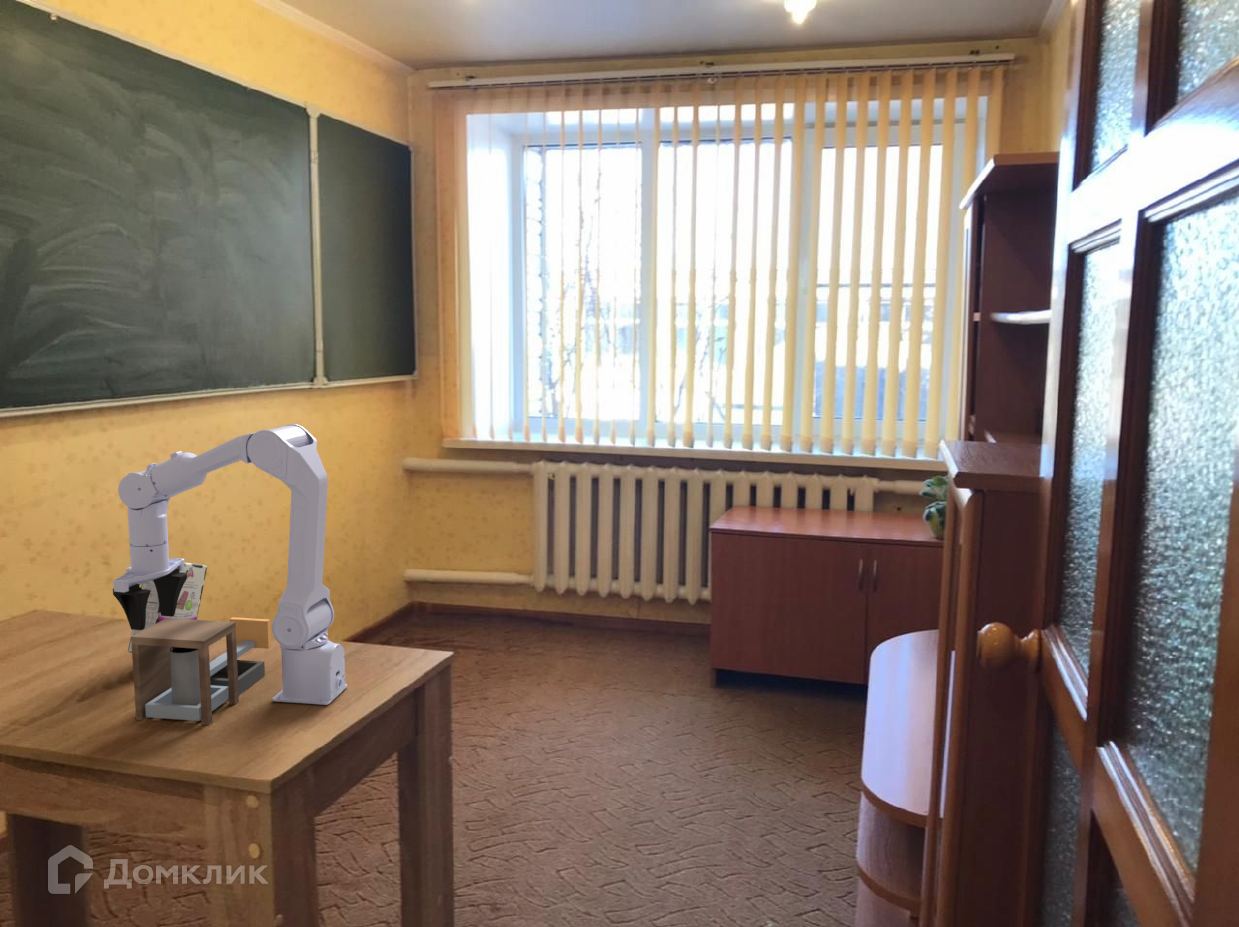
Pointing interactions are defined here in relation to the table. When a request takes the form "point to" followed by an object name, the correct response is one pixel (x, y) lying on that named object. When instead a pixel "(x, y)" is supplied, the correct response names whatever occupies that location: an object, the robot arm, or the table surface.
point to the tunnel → (155, 659)
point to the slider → (247, 637)
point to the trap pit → (240, 674)
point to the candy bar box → (186, 600)
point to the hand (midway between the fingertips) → (153, 622)
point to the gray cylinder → (185, 676)
